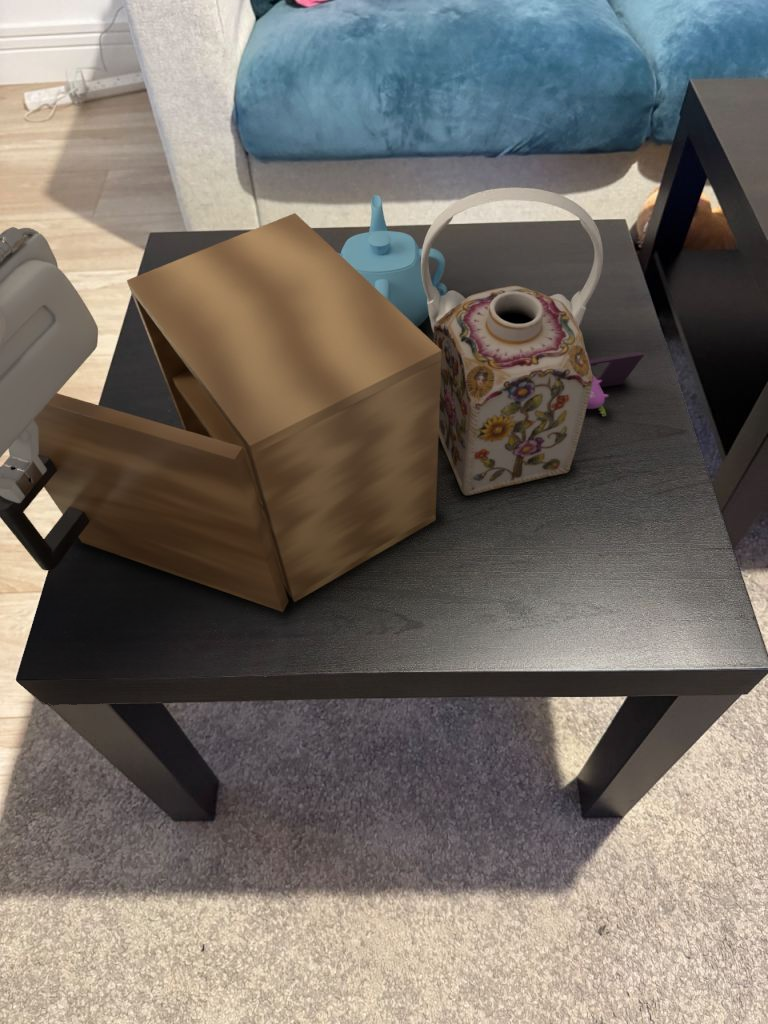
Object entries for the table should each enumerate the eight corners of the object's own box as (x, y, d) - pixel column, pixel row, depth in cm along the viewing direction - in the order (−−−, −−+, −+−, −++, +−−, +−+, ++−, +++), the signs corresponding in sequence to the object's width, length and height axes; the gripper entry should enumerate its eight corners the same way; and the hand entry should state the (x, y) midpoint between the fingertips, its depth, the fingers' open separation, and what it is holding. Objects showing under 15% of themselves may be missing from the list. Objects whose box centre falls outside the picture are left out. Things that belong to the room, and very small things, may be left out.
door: (253, 668, 63) (190, 527, 46) (45, 591, 68) (-84, 438, 51) (288, 601, 67) (242, 446, 49) (88, 533, 72) (-18, 371, 55)
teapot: (377, 370, 85) (377, 292, 76) (300, 308, 91) (291, 229, 81) (454, 320, 90) (462, 241, 80) (376, 265, 95) (376, 185, 86)
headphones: (422, 329, 88) (424, 170, 72) (577, 335, 86) (615, 173, 70) (418, 371, 84) (418, 212, 68) (581, 378, 82) (621, 217, 66)
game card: (641, 344, 75) (557, 358, 75) (655, 390, 74) (570, 404, 73) (619, 374, 82) (542, 387, 81) (632, 417, 80) (553, 430, 80)
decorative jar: (428, 417, 80) (431, 278, 65) (529, 395, 81) (554, 254, 66) (462, 501, 73) (474, 368, 58) (572, 476, 74) (610, 340, 60)
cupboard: (294, 602, 67) (249, 445, 49) (193, 452, 78) (126, 280, 60) (435, 520, 72) (442, 350, 54) (321, 390, 83) (295, 212, 65)
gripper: (-13, 201, 44) (77, 371, 55) (-305, 447, 33) (-120, 595, 44) (73, 219, 42) (148, 390, 54) (-204, 482, 32) (-38, 627, 43)
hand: (25, 485), depth 49 cm, fingers closed
